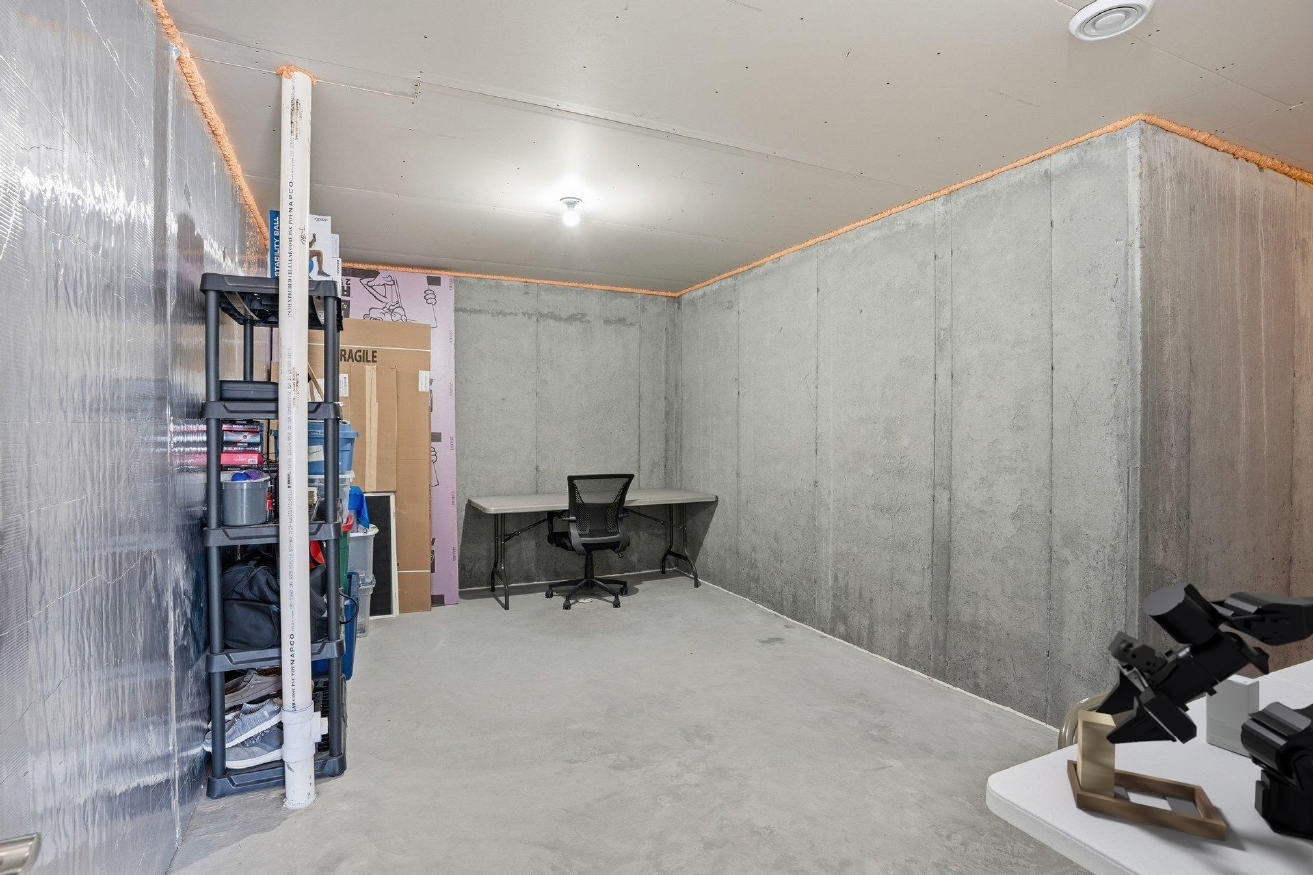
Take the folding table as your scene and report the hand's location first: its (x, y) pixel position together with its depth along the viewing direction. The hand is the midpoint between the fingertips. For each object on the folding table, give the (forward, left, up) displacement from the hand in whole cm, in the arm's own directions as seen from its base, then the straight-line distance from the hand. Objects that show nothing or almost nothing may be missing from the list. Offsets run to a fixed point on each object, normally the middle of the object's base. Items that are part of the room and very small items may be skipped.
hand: (1102, 726), depth 96 cm
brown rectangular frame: (-5, 0, -10) cm, 11 cm away
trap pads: (-7, 0, -10) cm, 12 cm away
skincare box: (-22, -27, -10) cm, 37 cm away
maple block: (+1, 0, -10) cm, 10 cm away
